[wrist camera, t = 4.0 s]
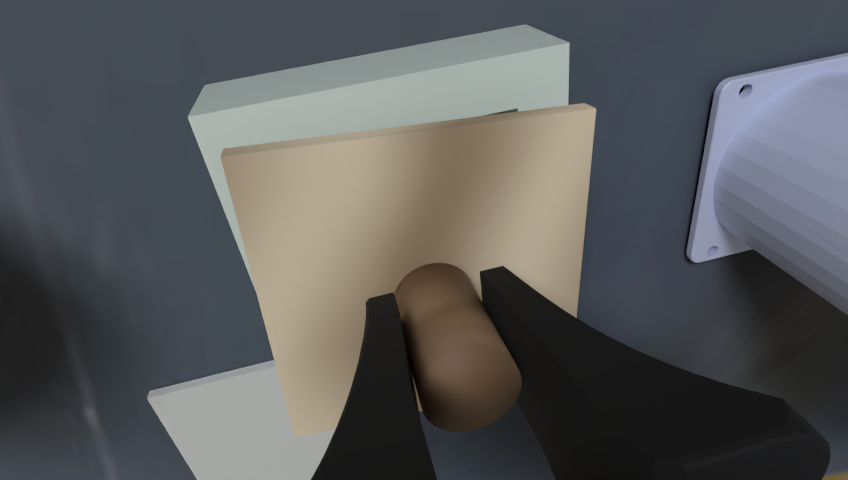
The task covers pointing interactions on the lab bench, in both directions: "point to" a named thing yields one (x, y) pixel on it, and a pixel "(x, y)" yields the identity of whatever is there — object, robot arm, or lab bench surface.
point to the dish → (381, 94)
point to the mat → (238, 427)
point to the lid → (411, 250)
